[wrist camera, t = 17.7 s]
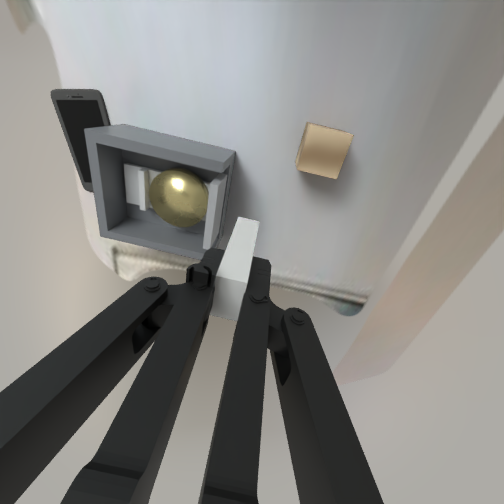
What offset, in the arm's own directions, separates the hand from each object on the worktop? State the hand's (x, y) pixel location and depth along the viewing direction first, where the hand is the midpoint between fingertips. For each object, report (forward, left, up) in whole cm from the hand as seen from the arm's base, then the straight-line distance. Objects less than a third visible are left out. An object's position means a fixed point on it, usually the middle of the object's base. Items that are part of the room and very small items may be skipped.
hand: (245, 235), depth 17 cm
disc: (+5, -10, -17) cm, 20 cm away
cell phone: (+2, -26, -21) cm, 33 cm away
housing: (+5, -13, -21) cm, 25 cm away
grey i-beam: (+5, -12, -17) cm, 22 cm away
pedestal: (-5, +6, -21) cm, 22 cm away
